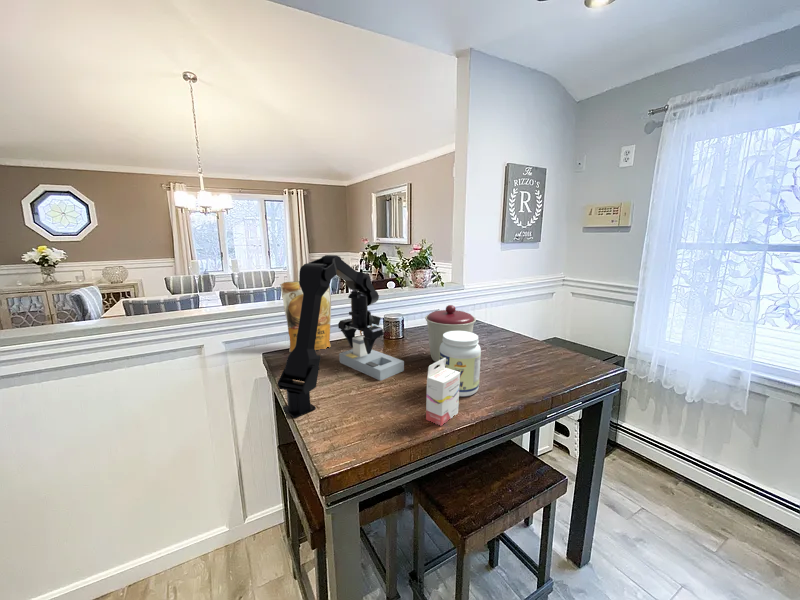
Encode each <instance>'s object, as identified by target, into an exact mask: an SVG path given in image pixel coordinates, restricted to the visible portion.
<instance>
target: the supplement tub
mask: <svg viewBox="0 0 800 600" xmlns="http://www.w3.org/2000/svg"><path fill="white" fill-rule="evenodd" d="M442 340H443V342H442V343H441V345H440V348H439V360H441V359H443V358H446V364H445V368H448V369H451V370H455V371H458V372H460V385H459V397H470V396H472V395H474V394H476V393H477V392H478V390H479V388H480V374H481V357H482V356H481V355H482V349H481V346H480V344H479V335H478V334H476V333H474V332H472V333H471V332H467V331H449V332H446V333H444V334H443V339H442ZM439 366H440V364H439V365H438V367H439Z"/></svg>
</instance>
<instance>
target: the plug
mask: <svg viewBox="0 0 800 600" xmlns="http://www.w3.org/2000/svg"><path fill="white" fill-rule="evenodd" d="M363 337H364V335H363V334H362V335H360V334H359V335H357V336H356V335H355V337H353V339H352V342H353V348H352V349H353V354H354V355H356V356H358V357H362V356H365V355H367V351H366V347H365V344H364V340H363Z"/></svg>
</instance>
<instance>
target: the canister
mask: <svg viewBox="0 0 800 600" xmlns="http://www.w3.org/2000/svg"><path fill="white" fill-rule="evenodd" d="M424 319H425V321H426V323H427V335H428V344H429V345H428V346H429V353H430V357H431V360H433V362H434V363H435V362H437V361H439V348H440V345H441V343H442V342H443V340H442V339H443V334H444V333H446V332H449V331H467V332H471V333H474V324H475V323H476V321H477V318H476V317H475V316H473V315H472V314H471V313H468V312H467V311H461V310H456V307H455V305H453V304H448V305H446V307H445V309H443V310H442V309H441V310H435V311H432V312H430V313H429V314H426V315H425V317H424Z"/></svg>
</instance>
